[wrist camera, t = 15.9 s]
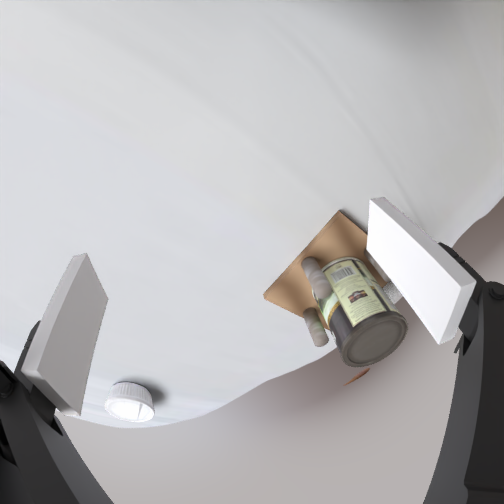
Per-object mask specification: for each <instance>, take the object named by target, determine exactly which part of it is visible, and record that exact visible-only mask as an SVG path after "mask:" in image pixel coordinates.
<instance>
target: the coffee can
mask: <svg viewBox="0 0 504 504" xmlns="http://www.w3.org/2000/svg"><path fill="white" fill-rule="evenodd" d="M321 270H322V272H323V273H324V275H325V277H326V279H327V280H328V282H329V284H330V286H331V288H332V292H331V294H330V295H329V296H328V297H326V298H323V299H319V298H317V297H316V295H315V293H314V291H313V289H312V294H313V297H314V299H315V300H316V302H317V304H318V306H319V308H320V310H321V312H322V314H323V316H324V319H325V321H326V323H327V325H328V327H329V329H330V332H331V334H332V336H333V338H334V340H335V343H336V345H337V347H338V349H339V351H340V353H341V358H342V360H343V362H344V363H345V364H346V365H348V366H351V367H364V366H368V365H371V364H374V363H376V362H378V361H380V360H382V359H384V358H385V357H387V356H388V355H390V354H391V353H392V352H393V351H394V350H396V349H397V348H398V346H399V345H400V344H401V343H402V341H403V340H404V338H405V336H406V334H407V330H408V324H407V321H406V319H405V318H404V317H403V316H402V315H401V314H400V313H399V311H398V310H397V308H396V307H395V306H394V304H393V303H392V301H391V300H390V299H389V297H388V296H387V295H386V293H385V292H384V290H383V289H382V288H381V286H380V285H379V284H378V282H377V281H376V280H375V278H374V277H373V276H372V274H371V273H370V272H369V270H368V269H367V267H366V266H365V264H364V263H363V262H362V261H361V260H359V259H357V258H354V257H343V258H339V259H336V260H334V261H332V262H330V263H328V264H327V265H325V266H324V267H323V268H322V269H321Z"/></svg>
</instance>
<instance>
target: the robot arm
mask: <svg viewBox="0 0 504 504" xmlns="http://www.w3.org/2000/svg"><path fill="white" fill-rule="evenodd" d="M367 251H368V252H369V253H370V254H371V255H372V257H373V258H374V259H375V260H376V262H377V263H378V264H379V265H380V267H381V268H382V269H383V270H384V272H385V273H386V274H387V275H388V277H389V278H390V279H391V281H392V282H393V283H394V284H395V286H396V287H397V288H398V290H399V291H400V292H401V294H402V295H403V296H404V298H405V299H406V300H407V302H408V303H409V304H410V305H411V307H412V308H413V310H414V311H415V312H416V314H417V315H418V316H419V318H420V319H421V321H422V322H423V323H424V325H425V326H426V328H427V329H428V330H429V332H430V333H431V334H432V336H433V338H434V339H435V340H436V342H437V343H438V345H439V344H442V343H444V342H446V341H449V340H451V339H453V338H454V336H455V334H456V331H457V329H458V327H459V328H460V330H461V331H462V332H463V334H462V336H461V338H460V340H459V343H458V344H457V347H456V348H455V351H454V353H457V351H458V349H459V348H460V349H459V358H458V367H457V374H456V381H455V388H454V394H453V399H452V404H451V409H450V414H449V419H448V424H447V428H446V432H445V436H444V440H443V444H442V448H441V451H440V455H439V459H438V462H437V465H436V468H435V472H434V475H433V478H432V481H431V484H430V486H429V490H428V492H427V495H426V497H425V500H424V502H423V504H504V285H502V284H500V283H498V282H492V281H490V282H486V281H484V279H483V278H482V277H481V276H480V275H479V274H478V273H477V272H476V271H475V270H474V269H473V268H472V267H471V266H470V265H469V264H468V263H465V260H463V259H462V258H461V257H459V255H458V254H457V253H456V252H455V251H454V250H453V249H452V248H450V247H448V246H447V245H445V244H443V243H441V242H440V243H437V242H436V241H434V240H433V239H432V238H431V237H430V236H429V235H428V234H427V233H426V232H424V231H423V230H422V229H421V228H420V227H419V226H418V225H417V224H415V223H414V222H413V221H412V220H411V219H410V218H408V217H407V216H406V215H405V214H404V213H402V212H401V211H400V210H399V209H398V208H396V207H395V206H394V205H393V204H392V203H390V202H389V201H388V200H387V199H385V198H384V197H381V198H375V199H370V207H369V223H368V237H367ZM107 302H108V297H107V295H106V293H105V291H104V289H103V287H102V285H101V283H100V281H99V279H98V277H97V275H96V272H95V270H94V268H93V266H92V264H91V261H90V259H89V257H88V255H87V253H85V254H80V255H76V256H73V258H72V260H71V261H70V263H69V265H68V267H67V269H66V271H65V273H64V274H63V276H62V278H61V280H60V282H59V284H58V286H57V288H56V290H55V292H54V294H53V296H52V298H51V300H50V302H49V304H48V307H47V309H46V311H45V313H44V315H43V317H42V320H41V321H38V322H37V324H36V325H35V326H34V327H33V329H32V330H31V332H30V334H29V336H28V339H27V342H26V344H25V346H24V349H23V351H22V353H21V356H20V358H19V361H18V363H17V366H16V369H15V371H14V374H13V372H12V371H11V370H10V369H9V368H8V367H7V366H6V364H5V363H4V362H3V361H0V504H114V503H113V502H112V501H111V499H110V498H109V497H108V496H107V494H106V493H105V492H104V490H103V489H102V488H101V486H100V485H99V483H98V482H97V481H96V479H95V478H94V476H93V475H92V473H91V472H90V470H89V469H88V467H87V466H86V464H85V463H84V461H83V460H82V458H81V457H80V455H79V454H78V452H77V450H76V449H75V447H74V445H73V444H72V442H71V440H70V439H69V437H68V435H67V434H66V432H65V430H64V428H63V426H62V425H61V423H60V421H59V420H58V418H57V417H56V416H55V415H54V413H55V409H56V408H57V409H58V410H59V411H60V412H61V413H62V414H63V415H64V416H80V415H81V410H82V404H83V399H84V394H85V389H86V384H87V379H88V375H89V370H90V366H91V362H92V357H93V353H94V349H95V345H96V341H97V337H98V334H99V330H100V326H101V323H102V319H103V316H104V312H105V309H106V305H107Z"/></svg>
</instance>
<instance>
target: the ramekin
mask: <svg viewBox="0 0 504 504" xmlns="http://www.w3.org/2000/svg"><path fill="white" fill-rule="evenodd" d="M104 406H105V409H106V411H107V412H108V413H109V414H111V415H112V416H114V417H116V418H119V419H121V420H125V421H130V422H143V421H147V420H149V419H151V418H152V417H153V416H154V413H155V410H154V408H153V403H152V397H151V394H150V393H149V391H148V390H147V389H146V388H144V387H143V386H141V385H138V384H135V383H130V382H121V383H117V384H115V385H114V386H112V387H111V389H110V391H109V394H108V397H107V399H106V400H105V404H104Z"/></svg>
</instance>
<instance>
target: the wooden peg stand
mask: <svg viewBox="0 0 504 504" xmlns="http://www.w3.org/2000/svg"><path fill="white" fill-rule="evenodd" d="M367 237H368V235H367V234H366V233H365V232H364V231H363V230H361V229H360V228H359V227H358V226H357V225H355V224H354V223H353V222H352V221H351V220H350V219H348V218H347V217H346V216H345V215H344V214H342V213H341V212H340V211H338V212H337V213H336V214H335V215H334V216H333V217H332V219H331V220H330V221H329V222H328V223H327V224H326V225H325V227H324V228H323V229H322V230H321V231H320V232H319V233H318V234H317V236H316V237H315V238H314V239H313V240H312V241H311V242H310V243H309V245H308V246H307V247H306V248H305V249H304V250H303V251H302V252H301V253H300V255H299V256H298V257H297V258H296V259H295V260H294V261H293V262H292V263H291V264H290V266H289V267H288V268H287V269H286V270H285V271H284V272H283V273H282V274H281V275H280V276H279V278H278V279H277V280H276V281H275V282H274V283H273V284H272V285H271V286H270V287H269V288H268V289H267V291H266V292H265V293H264V294H263V295H264V299H266V300H268V301H270V302H272V303H274V304H276V305H278V306H280V307H282V308H284V309H286V310H288V311H290V312H292V313H294V314H296V315H298V316H300V317H302V318H304V319H305V321H306V324H307V326H308V329H309V332H310V334H311V337H312V339H313V342H314V344H315V346H317V347H321V346H324V345H326V344H327V343H328V341H329V338H328V336H327V334H326V332H325V329H324V328H326V329H328V330H330V329H329V327H328V325H327V323H326V321H325V319H324V316H323V314H322V312H321V310H320V308H319V306H318V304H317V302H316V300H315V299H314V297H313V294H312V289H313V291H314V293H315V295H316V297H317V298H319V299H323V298H326V297H328V296H329V295H330V294H331V292H332V288H331V286H330V284H329V282H328V280H327V279H326V277H325V275H324V273H323V272H322V270H321V269H322V268H323V267H324V266H325V265H327V264H328V263H330V262H332V261H334V260H336V259H339V258H343V257H354V258H357V259H359V260H361V261H362V262H363V263H364V264H365V266H366V267H367V269H368V270H369V272H370V273H371V274H372V276H373V277H374V278H375V280H376V281H377V282H378V284H379V285H380V286H381V288H383V287H384V286H385V285H386V284H387V283H388V282H391V279H390V278H389V277H388V275H387V274H386V273H385V272H384V270H383V269H382V268H381V267H380V265H379V264H378V263H377V262H376V260H375V259H374V258H373V257H372V255H371V254H370V253H369V252H368V251H367Z"/></svg>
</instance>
